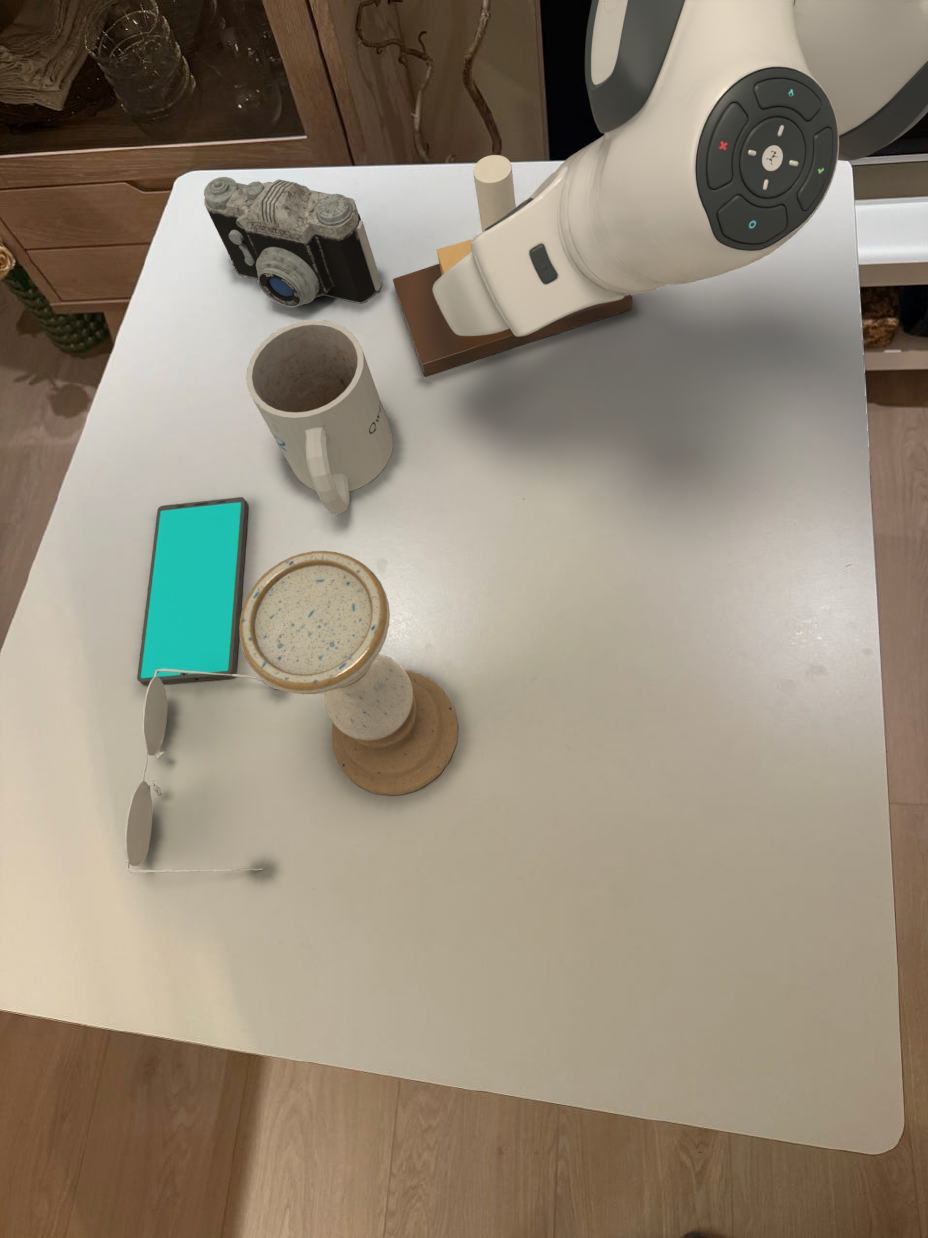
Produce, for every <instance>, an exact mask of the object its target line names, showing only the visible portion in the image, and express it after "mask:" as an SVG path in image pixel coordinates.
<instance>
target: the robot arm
mask: <svg viewBox="0 0 928 1238" xmlns="http://www.w3.org/2000/svg"><path fill="white" fill-rule="evenodd" d="M586 26H587V27H586V35H585V47H584V78H585V85H586V90H587V95H588V99H589V100H588V101H589V105H590V109H591V113H592V116H593V117H592V118H593V120H594V123H595V125H596V127H597V129H598V131H599V132H600V133H601V134H603V135H601V136H600V137H599V138H598V139H595V140H594V141H593V142H591V143H589V144H588V145H586V146H585V147H583V148H581V149H579V150H577V152H575V153H573V154H571V155H570V156H569V157H568V158H566V159H565V160H564V161H563V162H562V163H560V165H559V166H558V168H557V169H556V170H555V171H554V172H553V173H551V174H550V175H549V176H548V177H546V179H545V180H544V181H543V182H542V183H541V184H540V185H539V186H538V187H537V188H536V190H535V191H534V192H533V193H532V194H531V195H530V196H529V197H528V198H527V199H525V200H523V201H522V202H521V203H519V204H518V205H517V206H516V208H515V209H513V210H512V211H511V212H510V213H508V214H507V215H506V216H504V217H503V218H501V219H500V220H498V221H497V222H495V223H494V224H492V225H491V226H489V227H487V228H486V229H485V231H484V232H482V231H481V233H479V234H478V235H476V236H474V237H473V238H472V241H471V243H470V246H471V249H472V251H471V252H470V253H468V254H467V255H466V256H464V257H463V258H462V259H461V260H460V261H458V262H457V263H456V264H455V265H454V266H452V267H451V268H450V269H449V270H448V271H446V272H445V273H444V274H443V275H442V276H441V277H440V278H439V279H438V280H437V281H436V282H435V283H434V285H433V294H434V297H435V299H436V301H437V304H438V306H439V308H440V310H441V312H442V314H443V316H444V318H445V319H446V321H447V323H448V325H449V326H450V328H451V329H452V331H453V332H454V333H455V334H457V335H460V336H481V335H489V334H494V333H498V332H501V331H504V330H507V329H511V331H512V333H513V334H514V335H515V336H517V337H521V336H526V335H529V334H531V333H533V332H535V331H538V330H541V329H543V328H546V327H548V326H549V325H551V324H553V323H555V322H557V321H560V320H562V319H564V318H566V317H568V316H571V315H573V314H575V313H577V312H580V311H582V310H583V309H584V308H587V307H590V306H593V305H597V304H602V303H608V302H613V301H618V300H621V299H623V298H624V296H627V295H631V296H633V295H636V294H641V293H646V292H651V291H656V290H658V289H661V288H663V287H666V286H668V285H683V284H691V283H695V282H698V281H699V282H700V281H702V280H707V279H711V278H714V277H717V276H720V275H724V274H727V273H730V272H732V271H735V270H738V269H741V268H743V267H746V266H749V265H751V264H753V263H755V262H757V261H760V260H762V259H764V258H765V257H767V256H769V255H770V254H772V253H774V252H775V251H777V250H778V249H780V247H782V246H783V245H784V244H786V243H787V242H789V240H791V239H792V238H793V237H794V236H795V235H796V234H798V232H799V231H800V230H801V229H802V228H803V227H804V226H806V224H807V223H808V222H809V221H810V220H811V218H812V217H813V216H814V215H815V214H816V212H817V211H818V209H819V208H820V206H821V205H822V204H823V202H824V200H825V199H826V196H827V194H828V192H829V191H830V188H831V185H832V182H833V180H834V177H835V173H836V169H837V166H838V165H837V164H838V161H842V162H851V161H856V160H860V159H863V158H866V157H868V156H870V155H872V154H874V153H876V152H878V151H880V150H881V149H883V148H886V147H887V146H889V145H890V144H891V143H893V142H895V141H897V139H899V138H901V137H902V136H903V135H904V134H906V133H907V132H908V131H909V130H911V129H912V128H913V127H914V126H915V125H917V124H918V123H919V121H921V119H923V118H924V117H925V116H926V114H927V113H928V0H591V5H590V8H589V15H588V19H587V25H586Z"/></svg>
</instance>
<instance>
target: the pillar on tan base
mask: <svg viewBox="0 0 928 1238" xmlns="http://www.w3.org/2000/svg"><path fill="white" fill-rule="evenodd" d="M472 173H473V180H474V187H475V192H476V194H475V195H476V199H477V206H478V207H477V208H478V214H479V220H480V227H481V233H482V232H484V231H485V229H486V228H487V227H489V226H491V225H492V224H494V223H495V222H497V221H498V220H500V219H501V218H503V217H504V216H506V215H507V214H508V213H510V212H511V211H512V210H513V209H515V208H516V207H517V206H516V205H517V204H516V203H517V202H516V196H515V194H516V193H515V184H514V174H513V166H512V163H511V161H510V160H509V158H507V157H505V156H504V155H499V154H491V155H486V156H484V157H482V158H481V159H478V161H477V162H476V163H475V164H474V166H473V170H472ZM472 239H473V238H472ZM472 239H468V240H464V241H461V242H458V243H455V244H454V243H453V244H450V245H448V246H443V247H441V248H438V249H436V254H437V259H438V264H440V268H441V273H442V275H443V274H444V273H445V272H446V271H448V270H449V269H450V268H451V267H452V266H454V265H455V264H456V263H457V262H458V261H460V260H461V259H462V258H463V257H464V256H466V255H467V254H468V253H470V252H471V251H472V249H471V246H470V243H471V241H472Z"/></svg>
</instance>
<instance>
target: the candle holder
mask: <svg viewBox="0 0 928 1238" xmlns="http://www.w3.org/2000/svg"><path fill="white" fill-rule="evenodd" d="M241 609H242V610H241V612H240V624H239V641H240V646H241V649H242V652H243V654H244V656H245V659H246V661H247V663H248V664H249V666H250V668H251V669H252V670H253V671H254V672H255V674H257V676H259V678H260V679H262V680H264V681H266V682H267V683H268V684H270V685H272V686H274V687H276V688H278V690H281V691H284V692H286V693H290V694H297V695H318V694H324V701H325V703H324V704H325V708H326V712H327V714H328V716H329V719H330V720H331V722H332V725H331V746H332V750H333V754H334V757H335V759H336V762H337V764H338V766H339V767H340V769H341V771H342V772H343V773H344V774H345V775H346V776H347V778H349V780H350V781H352V782H353V783H354V784H356V785H357V786H359V787H360V788H362V789H364V790H366V791H368V792H372V793H375V794H378V795H383V796H400V795H406V794H410V793H412V792H415V791H418V790H419V789H422V788H424V787H426V786H427V785H428V784H430V783H431V782H433V781H434V780H435V779H436V778H437V777H438V776H439V775H441V773H442V772H443V771H444V769H445V768H446V767H447V765H448V764H449V762H450V760H451V759H452V756H453V754H454V752H455V749H456V747H457V746H456V745H457V741H458V731H459V730H458V728H459V727H458V720H457V714H456V711H455V708H454V706H453V703H452V701H451V699H450V697H449V696H448V695H447V694H446V692H445V690H444V689H443V688H442V687H441V686H440V685H439V684H438V683H437V682H435V681H434V680H432V679H430V678H429V677H427V676H425V675H423V674H421V673H418V672H415V671H412V670H405V668H403V667H402V666H401V664H399V663H398V662H397V661H395V660H394V659H393V658H390V657H389V656H387V655H384V654H380V653H381V651H382V649H383V648H384V647H383V646H384V644H385V641H386V639H387V636H388V633H389V632H388V631H389V627H390V619H391V617H390V616H391V613H390V611H391V610H390V602H389V599H388V597H387V592H386V591H385V589H384V586H383V584H382V582H381V581H380V580H379V578H378V577H377V575H376V574H375V572H373V571H372V570H371V569H370V568H369V567H368V566H367V565H366V564H364V563H363V562H361V561H360V560H358V559H356V558H355V557H353V556H350V555H348V554H344V553H341V552H337V551H331V550H329V551H328V550H315V551H314V550H313V551H307V552H302V553H299V554H296V555H292V556H290V557H288V558H286V559H284V560H282V561H280V562H278V563H277V564H275V565H274V566H273V567H271V568H270V569H269V570H267V571H266V572H265V573H264V574H262V576H261V577H260V578H259V579H258V580H257V581H256V583H255V584H254V585H253V587H252V588H251V590H250V592H249V593H248V595H247V597H246V599H245V601H244V603H243V606H242V608H241Z"/></svg>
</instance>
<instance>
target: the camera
mask: <svg viewBox="0 0 928 1238" xmlns="http://www.w3.org/2000/svg"><path fill="white" fill-rule="evenodd" d="M203 196H204V198H203V199H204V203H203V204H204V207H205V208H206V211H207V213H208V215H209V217H210V219H211V221H212V223H213V225H214V227H215V229H216V231H217V233H218V235H219V237H220V240H221V242H222V243H223V246H224V248H225V250H226V252H227V254H228V256H229V258H230V260H231V262H232V264H233V266H234V268H235V271H236V272H237V274H238V276H243V277H245V278H250V279H254V280H257V282H258V285H259V287H260V289H261V291H262V292H263V293H264V295H266V296H267V297H268V298H269V299H270V300H271V301H273V302H274V303H276V304H278V305H280V306H282V307H285V308H290V309H292V308H293V309H294V308H298V307H299V306H303V305H307V304H310V303H311V302H313V301H314V299H316V298H319V297H322V296H326V297H330V298H334V299H337V300H341V301H347V302H351V303H356V304H361V305H362V304H364V303H366V302H368V301H369V300H371V298H373V297H374V296H375V295H376V294H377V292H379V291H380V290H381V287H382V281H381V278H380V274H379V270H378V268H377V265H376V261H375V257H374V255H373V251H372V247H371V244H370V240H369V238H368V234H367V231H366V227H365V224H364V221H363V220H362V217H361V215H360V213H359V211H358V208H357V204H356V201H355V200H354V198H352V197H346V196H345V195H344V194H340V193H326V192H323V191H317V190H312V189H310V188H308V187H307V185H303V184H300V183H298V182H295V181H289V180H284V179H276V180H275V181H266V182H260V181H258V180H257V181H252V182H250V183H248V184H245V183H240V182H236V180H235V179H233V178H231V177H228V176H219V177H216V178H213V179H212V180H211V181H210V182H209V181H208V183H207V184H206V186H205V187H204V190H203Z"/></svg>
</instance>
